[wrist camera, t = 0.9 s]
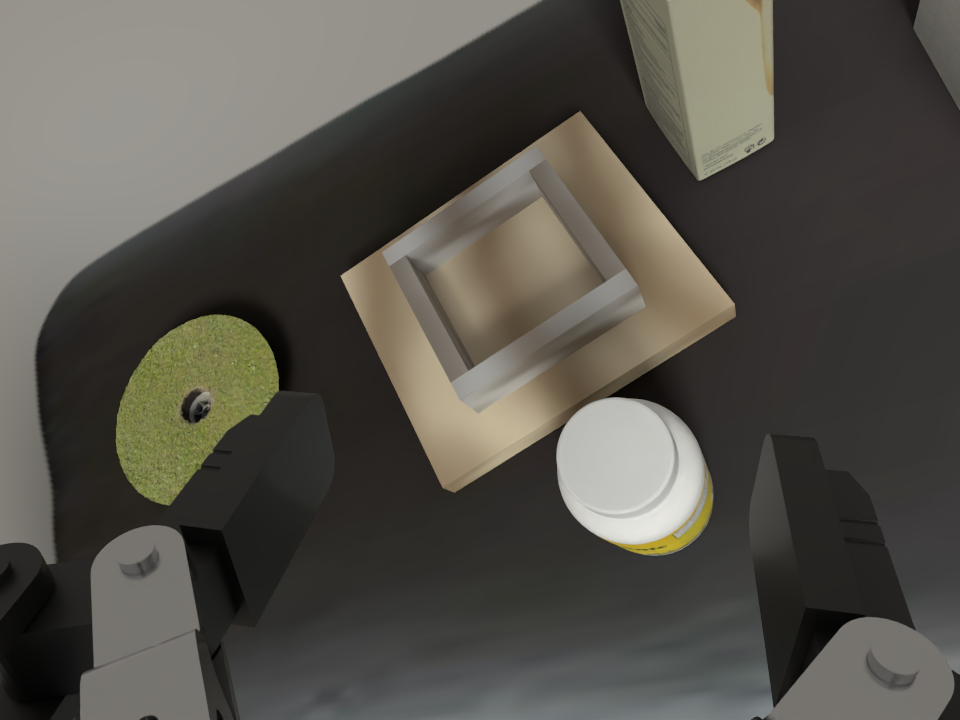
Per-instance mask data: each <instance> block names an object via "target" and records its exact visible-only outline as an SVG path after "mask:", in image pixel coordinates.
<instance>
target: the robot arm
mask: <svg viewBox="0 0 960 720" xmlns="http://www.w3.org/2000/svg"><path fill="white" fill-rule="evenodd" d="M334 466H335V460H334V452H333V447H332V442H331V437H330V432H329V427H328V422H327V417H326V413H325V408H324V403H323V400H322V398H321V396H320V395H319V394H314V393H303V392H291V391H279V392H277V393H276V394H275V395H274V396H273V398H272V399H271V400H270V402H269V403H268V404H267V406H266V407H265V408H264V410H263V411H262V413H261V414H260V415H252V414H250V415H249V416H248V417H246V418H245V419H243V420H242V421H240V422H239V423H237V424H236V425H235V426H233V427H232V428H230V429H229V430H228V431H227V432H226V433H225V434H224V436H223V437H222V438H221V440H220V441H219V442H218V443H217V445H216V446H215V447H214V449H213V453H210V454H209V455H208V456H207V458H206V459H205V460H204V462H203V463H202V464H201V469H197V471H196V472H195V473H194V475H193V476H192V477H191V478H190V480H189V481H188V482H187V484H186V485H185V486H184V488H183V489H182V490H181V491H180V493H179V494H178V495H177V497H176V498H175V499H174V500H173V502H172V503H171V504H170V506H169V507H168V508H167V510H166V511H165V512H164V513H163V515H162V516H161V517H160V519H159V520H158V521H157V522H156V524H155V525H153V526H145V527H140V528H137V529H134V530H131V531H129V532H126V533H124V534H122V535H120V536H119V537H117V538H116V539H114V540H112V541H111V542H110V543H109V544H107V545H106V546H105V547H104V548H103V549H102V550H101V551H100V553H99V554H98V555H97V557H96V558H92V559H85V560H78V561H71V562H64V563H56V564H49V565H47V564H46V562H45V560H44V558H43V556H42V555H41V553H40V551H39V550H38V549H37V548H36V547H34V546H33V545H30V544H26V543H9V544H4V545H0V720H73V719H74V717H75V716H76V714H77V712H78V711H79V709H80V716H81V720H240V717H239V713H238V708H237V703H236V698H235V694H234V689H233V684H232V680H231V675H230V670H229V666H228V661H227V656H226V652H225V648H224V645H223V642H222V639H223V637H224V635H225V633H226V632H227V630H228V628H229V626H230V625H231V624H233V625H240V626H246V627H253V628H255V626H256V625H257V623H258V621H259V619H260V617H261V615H262V613H263V611H264V610H265V608H266V606H267V604H268V602H269V600H270V598H271V596H272V595H273V593H274V591H275V589H276V587H277V585H278V583H279V581H280V580H281V578H282V576H283V574H284V572H285V570H286V568H287V566H288V565H289V563H290V561H291V559H292V557H293V555H294V553H295V551H296V550H297V548H298V546H299V544H300V542H301V540H302V538H303V536H304V535H305V533H306V531H307V529H308V527H309V525H310V523H311V521H312V520H313V518H314V516H315V514H316V512H317V510H318V508H319V507H320V505H321V503H322V501H323V499H324V497H325V495H326V493H327V492H328V490H329V488H330V485H331V482H332V479H333V474H334ZM749 532H750V541H751V548H752V555H753V563H754V570H755V577H756V584H757V591H758V598H759V606H760V613H761V620H762V627H763V634H764V641H765V648H766V656H767V663H768V670H769V677H770V684H771V691H772V699H773V706H774V709H773V710H772V711H771V712H770V714H769V715H768V716H767V717H765V718H764V719H763V720H960V675H959V674H957V673H956V672H954V671H953V670H951V668H950V666H949V664H948V662H947V660H946V659H945V657H944V656H943V655H942V653H941V652H940V651H939V650H938V649H937V648H936V646H935V645H934V644H933V643H931V642H930V641H929V640H928V639H927V638H925V637H924V636H923V635H921V634H920V633H918V632H917V631H916V629H915V627H914V625H913V622H912V619H911V616H910V613H909V610H908V607H907V604H906V601H905V598H904V596H903V593H902V590H901V587H900V584H899V581H898V578H897V575H896V572H895V569H894V566H893V563H892V560H891V557H890V555H889V552H888V549H887V547H885V540H884V537H883V534H882V531H881V528H880V526H878V519H877V516H876V513H875V511H874V508H873V505H872V502H871V499H870V496H869V494H868V493H867V492H866V491H865V490H864V489H863V488H862V487H861V486H860V484H859V483H858V482H857V481H856V480H855V479H854V478H853V477H852V476H851V475H850V473H849V472H846V471H835V470H825V468H824V464H823V461H822V457H821V454H820V450H819V447H818V443H817V441H816V439H815V438H810V437H799V436H787V435H775V434H767V435H766V437H765V440H764V443H763V448H762V452H761V457H760V461H759V466H758V471H757V475H756V480H755V484H754V489H753V494H752V498H751V504H750V515H749ZM751 720H762V719H761V718H760V717H754V718H753V719H751Z"/></svg>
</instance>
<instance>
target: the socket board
mask: <svg viewBox="0 0 960 720" xmlns="http://www.w3.org/2000/svg"><path fill="white" fill-rule="evenodd" d="M341 278H342V280H343V282H344V284H345V286H346V288H347V290H348V292H349V294H350V297H351V299H352V301H353V303H354V305H355V307H356V309H357V311H358V313H359V315H360V317H361V319H362V321H363V323H364V326H365V328H366V330H367V332H368V334H369V336H370V338H371V340H372V342H373V344H374V346H375V348H376V350H377V352H378V355H379V357H380V359H381V361H382V363H383V365H384V367H385V369H386V371H387V373H388V375H389V377H390V379H391V382H392V384H393V386H394V388H395V390H396V392H397V394H398V396H399V398H400V400H401V402H402V404H403V406H404V408H405V411H406V413H407V415H408V417H409V419H410V421H411V423H412V425H413V427H414V429H415V431H416V433H417V435H418V437H419V440H420V442H421V444H422V446H423V448H424V450H425V452H426V454H427V456H428V458H429V460H430V462H431V464H432V467H433V469H434V471H435V473H436V475H437V477H438V479H439V481H440V483H441V485H442V487H443V488H444V489H447V490H449V491H452V492H454V493H455V492H456V491H458V490H460V489H461V488H463V487H464V486H466V485H468V484H469V483H471V482H472V481H474V480H476V479H477V478H479V477H480V476H482V475H484V474H485V473H487V472H488V471H490V470H492V469H493V468H495V467H496V466H498V465H499V464H501V463H503V462H504V461H506V460H507V459H509V458H511V457H512V456H514V455H515V454H517V453H519V452H520V451H522V450H523V449H525V448H527V447H528V446H530V445H531V444H533V443H535V442H536V441H538V440H539V439H541V438H543V437H544V436H546V435H547V434H549V433H551V432H552V431H554V430H555V429H557V428H559V427H560V426H562V425H563V424H565V423H567V422H568V421H569V420H570V418H571V417H572V416H573V415H574V414H575V413H576V412H577V411H579V410H580V409H581V408H583V407H584V406H586V405H588V404H590V403H592V402H594V401H597V400H600V399H604V398H607V397H608V396H610V395H611V394H613V393H615V392H616V391H618V390H619V389H621V388H622V387H624V386H626V385H627V384H629V383H630V382H632V381H634V380H635V379H637V378H638V377H640V376H642V375H643V374H645V373H646V372H648V371H650V370H651V369H653V368H654V367H656V366H658V365H659V364H661V363H662V362H664V361H666V360H667V359H669V358H670V357H672V356H674V355H675V354H677V353H678V352H680V351H682V350H683V349H685V348H686V347H688V346H690V345H691V344H693V343H694V342H696V341H698V340H699V339H701V338H702V337H704V336H706V335H707V334H709V333H710V332H712V331H714V330H715V329H717V328H718V327H720V326H722V325H723V324H725V323H726V322H728V321H730V320H731V319H733V318H734V317H736V313H735V304H734V303H733V301H732V300H731V299H730V298H729V296H728V295H727V294H726V293H725V291H724V290H723V289H722V288H721V286H720V285H719V284H718V283H717V281H716V280H715V279H714V278H713V276H712V275H711V274H710V273H709V271H708V270H707V269H706V268H705V266H704V265H703V264H702V263H701V261H700V260H699V259H698V258H697V256H696V255H695V254H694V253H693V251H692V250H691V249H690V248H689V246H688V245H687V244H686V243H685V241H684V240H683V239H682V238H681V236H680V235H679V234H678V233H677V231H676V230H675V229H674V228H673V226H672V225H671V224H670V223H669V221H668V220H667V219H666V218H665V216H664V215H663V214H662V213H661V211H660V210H659V209H658V208H657V206H656V205H655V204H654V203H653V201H652V200H651V199H650V198H649V196H648V195H647V194H646V193H645V191H644V190H643V189H642V188H641V186H640V185H639V184H638V183H637V181H636V180H635V179H634V178H633V176H632V175H631V174H630V173H629V171H628V170H627V169H626V168H625V166H624V165H623V164H622V163H621V161H620V160H619V159H618V158H617V156H616V155H615V154H614V153H613V151H612V150H611V149H610V148H609V146H608V145H607V144H606V143H605V141H604V140H603V139H602V138H601V136H600V135H599V134H598V133H597V131H596V130H595V129H594V128H593V126H592V125H591V124H590V123H589V121H588V120H587V119H586V118H585V116H584V115H583V114H582V113H581V111H579V112H578V113H576V114H575V115H573V116H572V117H571V118H569V119H568V120H566V121H565V122H563V123H562V124H560V125H559V126H558V127H556V128H555V129H553V130H552V131H550V132H549V133H547V134H546V135H544V136H543V137H542V138H540V139H539V140H537V141H536V142H534V143H533V144H531V145H530V146H528V147H527V148H526V149H524V150H523V151H521V152H520V153H518V154H517V155H515V156H514V157H513V158H511V159H510V160H508V161H507V162H505V163H504V164H502V165H501V166H499V167H498V168H497V169H495V170H494V171H492V172H491V173H489V174H488V175H486V176H485V177H484V178H482V179H481V180H479V181H478V182H476V183H475V184H473V185H472V186H470V187H469V188H468V189H466V190H465V191H463V192H462V193H460V194H459V195H457V196H456V197H455V198H453V199H452V200H450V201H449V202H447V203H446V204H444V205H443V206H441V207H440V208H439V209H437V210H436V211H434V212H433V213H431V214H430V215H428V216H427V217H425V218H424V219H423V220H421V221H420V222H418V223H417V224H415V225H414V226H412V227H411V228H410V229H408V230H407V231H405V232H404V233H402V234H401V235H399V236H398V237H396V238H395V239H394V240H392V241H391V242H389V243H388V244H386V245H385V246H383V247H382V248H381V249H379V250H378V251H376V252H375V253H373V254H372V255H370V256H369V257H367V258H366V259H365V260H363V261H362V262H360V263H359V264H357V265H356V266H354V267H353V268H352V269H350V270H349V271H347V272H346V273H344V274H343V275H341Z"/></svg>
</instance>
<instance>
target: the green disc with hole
mask: <svg viewBox="0 0 960 720" xmlns="http://www.w3.org/2000/svg"><path fill="white" fill-rule="evenodd" d="M278 382H279V376H278V372H277V367H276V361H275V359H274V355H273V352H272V350H271V348H270V346H269V345H268V343H267V341H266V340H265V339H264V337H263V336H262V335H261V333H260V332H259V331H258V330H257V329H256V328H255V327H253V326H252V325H251V324H249V323H247V322H245V321H243V320H242V319H239V318H236V317H232V316H227V315H224V316H223V315H209V316H204V317H203V316H202V317H200V318H197V319H193V320H190V321H188V322H186V323H185V324H184V325H182V324H181V326H177V328H176V329H173V330H171V331H170V332H169V333H167V334H166V335H165V336H164V337H162V338H160V339H159V340H158V342H157V343H155V345H153V348H151V349H150V350H149V351H148V353H147V354H146V355H145V358H144V359H142V361H141V363H140V364H139V366H138V367H137V369H136V370H135V371H134V373H133V375H132V377H131V378H130V381H129V384H128V386H126V390H125V393H124V396H123V398H122V400H121V403H120V407H119V413H118V415H117V427H116V446H117V453H118V456H119V458H120V464H121V466H122V467H123V471H124V473H125V474H126V476H127V479H128V480H129V482H130V483H132V486H134V487H135V489H136V490H138V492H139V493H141V494H142V495H144V497H147V498H148V499H150V500H152V501H154V502H157V503H160V504H165V505H170V504H171V503H172V502H173V500H174V499H175V498H176V497H177V495H178V494H179V493H180V491H181V490H182V489H183V488H184V486H185V485H186V484H187V482H188V481H189V480H190V478H191V477H192V476H193V475H194V473H195V472H196V471H197V469H201V464H202V463H203V462H204V460H205V459H206V458H207V456H208V455H209V454H210V453H213V449H214V447H215V446H216V445H217V443H218V442H219V441H220V440H221V438H222V437H223V436H224V434H225V433H226V432H227V431H228V430H229V429H230V428H232V427H233V426H235V425H236V424H237V423H239V422H240V421H242V420H243V419H245V418H246V417H248V416H249V415H250V414H252V415H260V414H261V413H262V411H263V410H264V408H265V407H266V406H267V404H268V403H269V402H270V400H271V399H272V398H273V396H274V395H275V394H276V393H277V392H278V391H279V384H278Z"/></svg>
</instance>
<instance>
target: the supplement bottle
mask: <svg viewBox="0 0 960 720" xmlns="http://www.w3.org/2000/svg"><path fill="white" fill-rule="evenodd" d="M556 458H557V474H558V482H559V487H560V491H561V494H562V497H563V499H564V501H565V503H566V505H567V507H568V509H569V510H570V512H571V513H572V514H573V516H574V517H575V518H576V519H577V520H578V521H579V522H580V523H581V524H582V525H583V526H584V527H586V528H587V529H588V530H589V531H591V532H592V533H594V534H596V535H597V536H599V537H601V538H603V539H605V540H607V541H609V542H611V543H613V544H615V545H618V546H620V547H622V548H625V549H627V550H629V551H632V552H635V553H638V554H643V555H654V556H655V555H665V554H670V553H673V552H676V551H678V550H680V549H682V548H684V547H686V546H688V545H689V544H690V543H691V542H693V541H694V540H695V539H696V538H697V537H698V536H699V535H700V534H701V532H702V531H703V530H704V528H705V527H706V525H707V523H708V521H709V518H710V515H711V512H712V508H713V502H714V489H713V483H712V479H711V476H710V473H709V470H708V468H707V465H706V463H705V460H704V457H703V455H702V452H701V449H700V447H699V444H698V442H697V440H696V438H695V436H694V435H693V433H692V432H691V430H690V429H689V428H688V426H687V425H686V424H685V423H684V422H683V421H682V420H681V419H680V418H679V417H678V416H677V415H675V414H674V413H673V412H671V411H670V410H668V409H666V408H665V407H663V406H661V405H659V404H656V403H653V402H650V401H646V400H641V399H628V398H619V397H612V398H604V399H600V400H597V401H594V402H592V403H590V404H588V405H586V406H584V407H583V408H581V409H580V410H579V411H577V412H576V413H575V414H574V415H573V416H572V417H571V418H570V420H569V421H568V422H567V424H566V425H565V427H564V429H563V431H562V433H561V435H560V438H559V441H558V446H557V456H556Z"/></svg>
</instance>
